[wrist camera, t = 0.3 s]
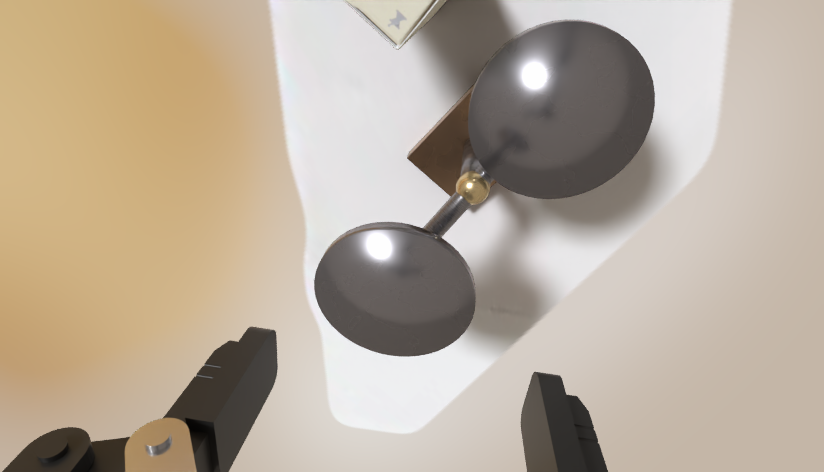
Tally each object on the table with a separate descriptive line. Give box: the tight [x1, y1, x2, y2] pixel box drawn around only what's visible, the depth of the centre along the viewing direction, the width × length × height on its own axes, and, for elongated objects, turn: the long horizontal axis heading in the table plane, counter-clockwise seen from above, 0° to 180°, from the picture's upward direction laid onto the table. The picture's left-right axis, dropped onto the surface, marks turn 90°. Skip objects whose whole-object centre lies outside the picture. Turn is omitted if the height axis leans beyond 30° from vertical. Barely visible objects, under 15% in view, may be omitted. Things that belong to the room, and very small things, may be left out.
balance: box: [314, 20, 655, 356], centre depth 27 cm, size 21×9×13 cm, turn 139°
